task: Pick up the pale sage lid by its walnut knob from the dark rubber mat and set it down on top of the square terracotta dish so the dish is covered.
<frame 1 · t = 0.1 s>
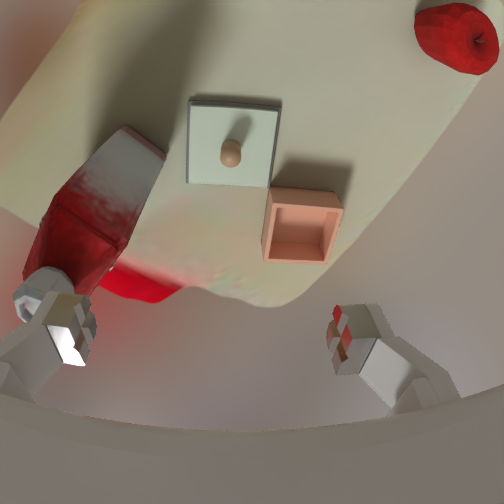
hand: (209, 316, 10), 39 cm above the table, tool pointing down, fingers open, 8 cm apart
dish: (296, 217, 54), on the table
lid: (230, 145, 45), point 1 cm above the table, touching mat
bottle: (123, 171, 47), on the table
apple: (429, 33, 34), on the table
mat: (230, 144, 45), on the table
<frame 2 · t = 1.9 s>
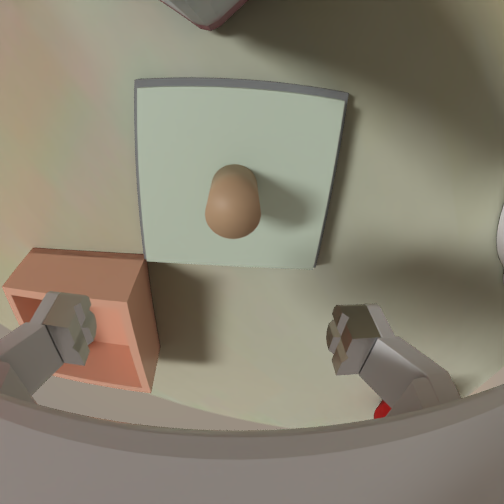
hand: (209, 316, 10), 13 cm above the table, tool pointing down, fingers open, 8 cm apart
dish: (96, 301, 26), on the table
lid: (234, 180, 20), point 1 cm above the table, touching mat
mat: (234, 177, 21), on the table
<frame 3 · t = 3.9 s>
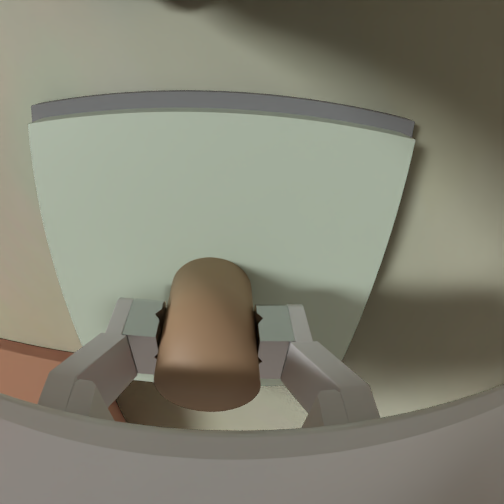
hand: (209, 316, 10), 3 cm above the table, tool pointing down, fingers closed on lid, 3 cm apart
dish: (50, 392, 18), on the table
lid: (212, 273, 12), point 1 cm above the table, touching gripper, mat
mat: (212, 264, 12), on the table
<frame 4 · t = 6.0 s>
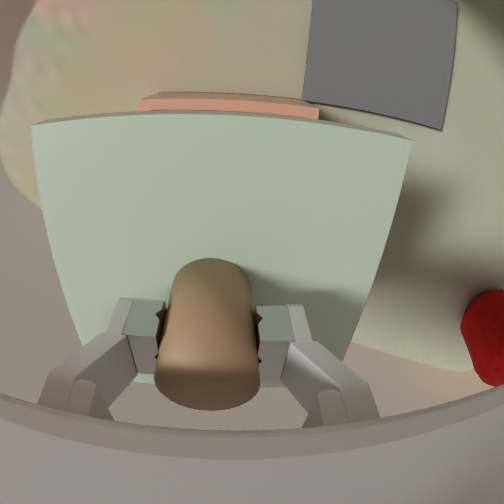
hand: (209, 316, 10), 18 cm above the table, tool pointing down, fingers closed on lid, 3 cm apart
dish: (226, 159, 25), on the table
lid: (212, 274, 12), point 15 cm above the table, touching gripper
apple: (477, 303, 37), on the table
mat: (387, 40, 19), on the table
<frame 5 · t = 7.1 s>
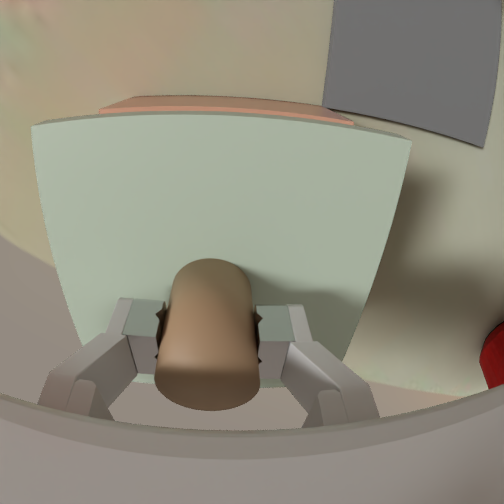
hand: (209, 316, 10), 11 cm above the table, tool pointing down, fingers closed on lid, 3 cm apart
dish: (222, 184, 19), on the table
lid: (212, 275, 12), point 9 cm above the table, touching gripper
apple: (496, 332, 32), on the table
mat: (426, 35, 14), on the table
when the fingers open (9 cm above the table, at t = 8.1 s): lid drops 1 cm, resting on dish.
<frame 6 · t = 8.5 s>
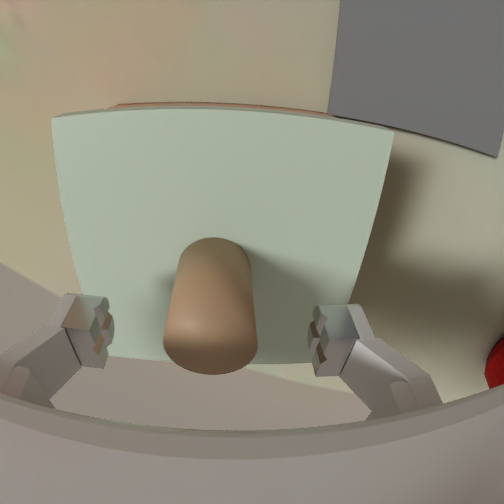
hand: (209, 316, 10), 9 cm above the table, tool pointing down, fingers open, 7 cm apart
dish: (217, 200, 18), on the table
lid: (215, 254, 13), point 5 cm above the table, touching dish
apple: (502, 343, 30), on the table
mat: (440, 36, 13), on the table
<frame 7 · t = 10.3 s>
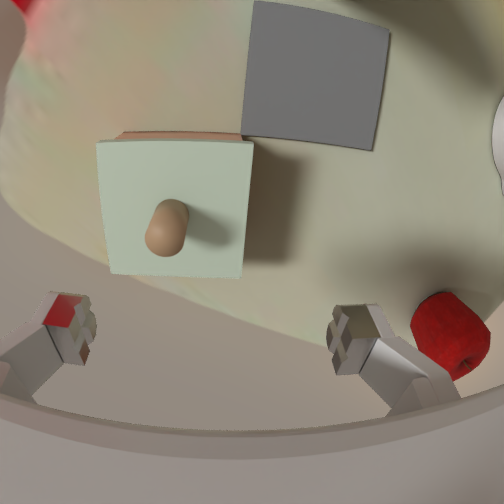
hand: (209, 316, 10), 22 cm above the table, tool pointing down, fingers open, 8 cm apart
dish: (179, 186, 30), on the table
lid: (173, 209, 26), point 5 cm above the table, touching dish
apple: (428, 305, 43), on the table
mat: (317, 75, 25), on the table
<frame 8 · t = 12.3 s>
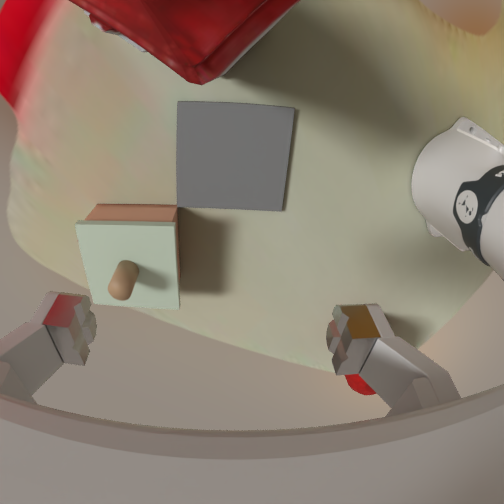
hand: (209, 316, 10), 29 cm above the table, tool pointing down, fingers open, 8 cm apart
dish: (139, 241, 41), on the table
lid: (130, 265, 37), point 5 cm above the table, touching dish
bottle: (197, 14, 27), on the table
apple: (360, 326, 54), on the table
mat: (232, 156, 36), on the table
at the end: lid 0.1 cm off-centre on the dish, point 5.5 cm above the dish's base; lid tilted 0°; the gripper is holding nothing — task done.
